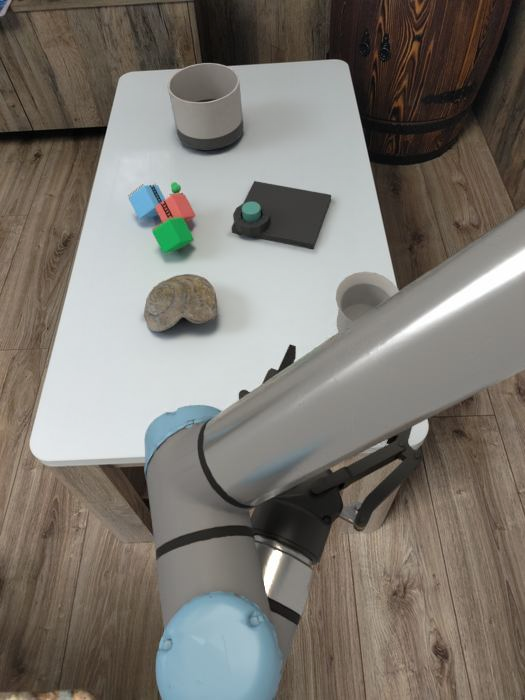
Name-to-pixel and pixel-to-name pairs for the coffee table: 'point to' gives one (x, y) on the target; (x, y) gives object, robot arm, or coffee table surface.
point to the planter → (206, 105)
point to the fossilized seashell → (180, 302)
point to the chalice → (361, 296)
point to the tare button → (251, 211)
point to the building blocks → (165, 215)
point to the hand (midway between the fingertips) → (348, 369)
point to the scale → (284, 214)
